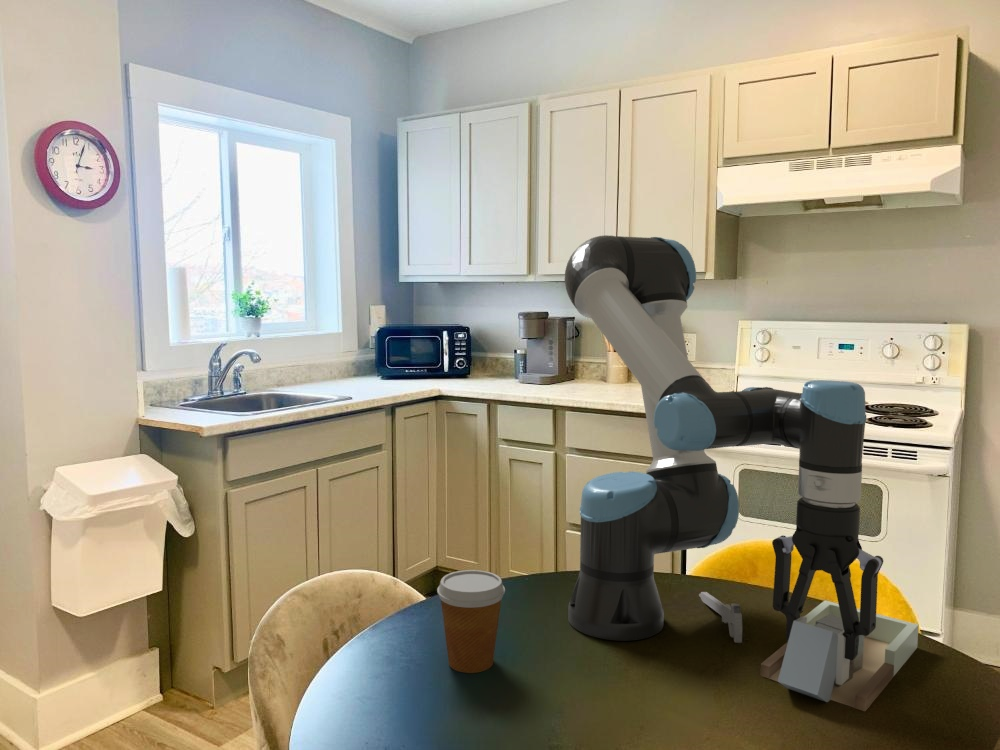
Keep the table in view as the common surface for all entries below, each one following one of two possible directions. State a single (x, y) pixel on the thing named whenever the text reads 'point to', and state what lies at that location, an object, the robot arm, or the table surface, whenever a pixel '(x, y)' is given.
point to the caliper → (726, 615)
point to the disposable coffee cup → (471, 618)
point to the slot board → (864, 680)
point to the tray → (879, 633)
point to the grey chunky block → (838, 624)
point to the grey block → (810, 661)
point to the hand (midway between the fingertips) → (819, 672)
